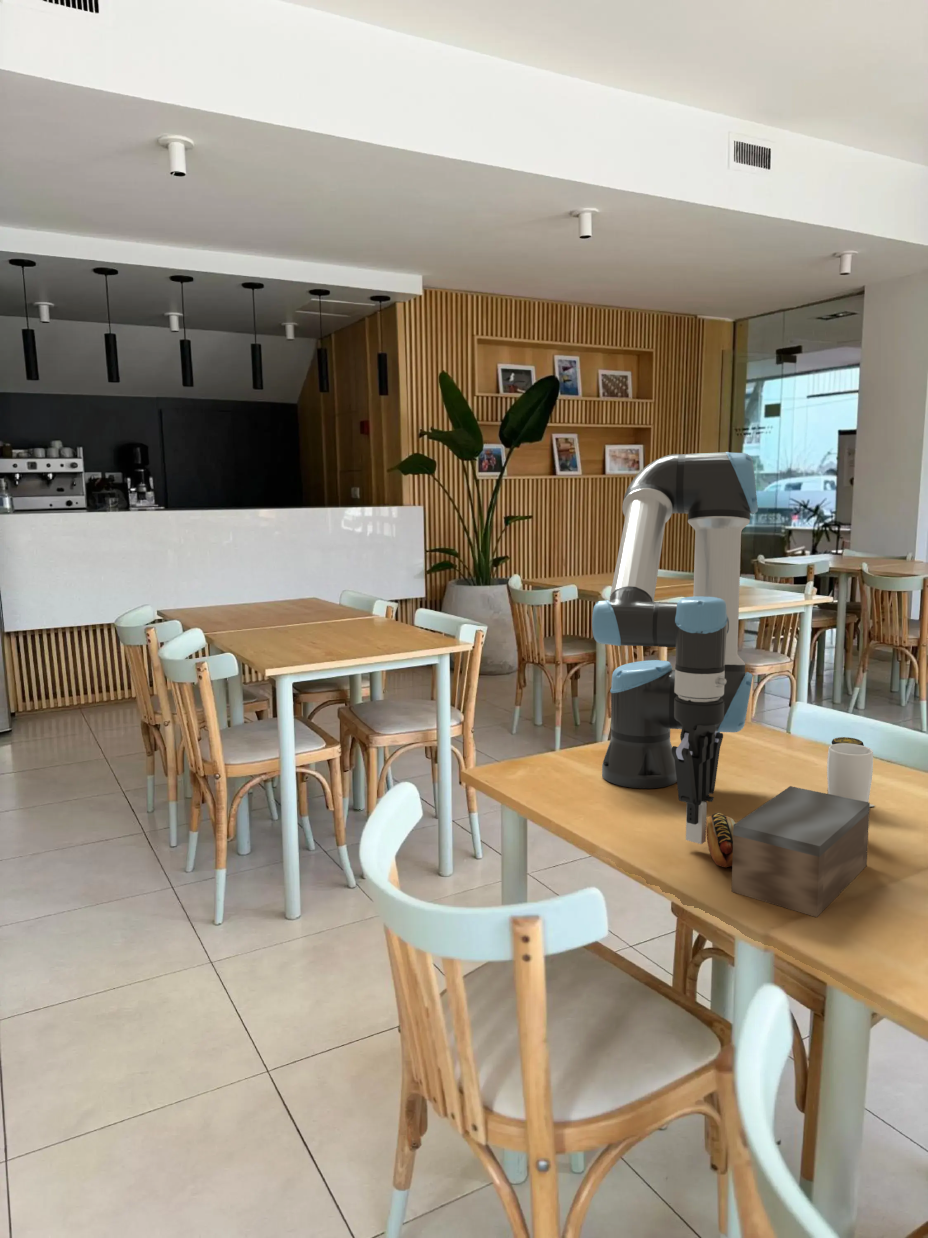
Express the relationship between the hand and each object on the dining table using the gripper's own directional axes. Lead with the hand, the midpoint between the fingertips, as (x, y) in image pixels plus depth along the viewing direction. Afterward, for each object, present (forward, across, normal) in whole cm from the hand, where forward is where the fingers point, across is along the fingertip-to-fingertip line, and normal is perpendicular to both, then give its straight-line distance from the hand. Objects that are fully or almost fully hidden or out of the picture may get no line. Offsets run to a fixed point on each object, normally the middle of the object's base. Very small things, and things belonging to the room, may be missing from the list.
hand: (695, 840), depth 139 cm
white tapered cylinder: (+2, +20, -16) cm, 26 cm away
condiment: (+2, +36, -10) cm, 38 cm away
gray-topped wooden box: (+2, 0, -17) cm, 17 cm away
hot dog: (+2, +1, -4) cm, 5 cm away
